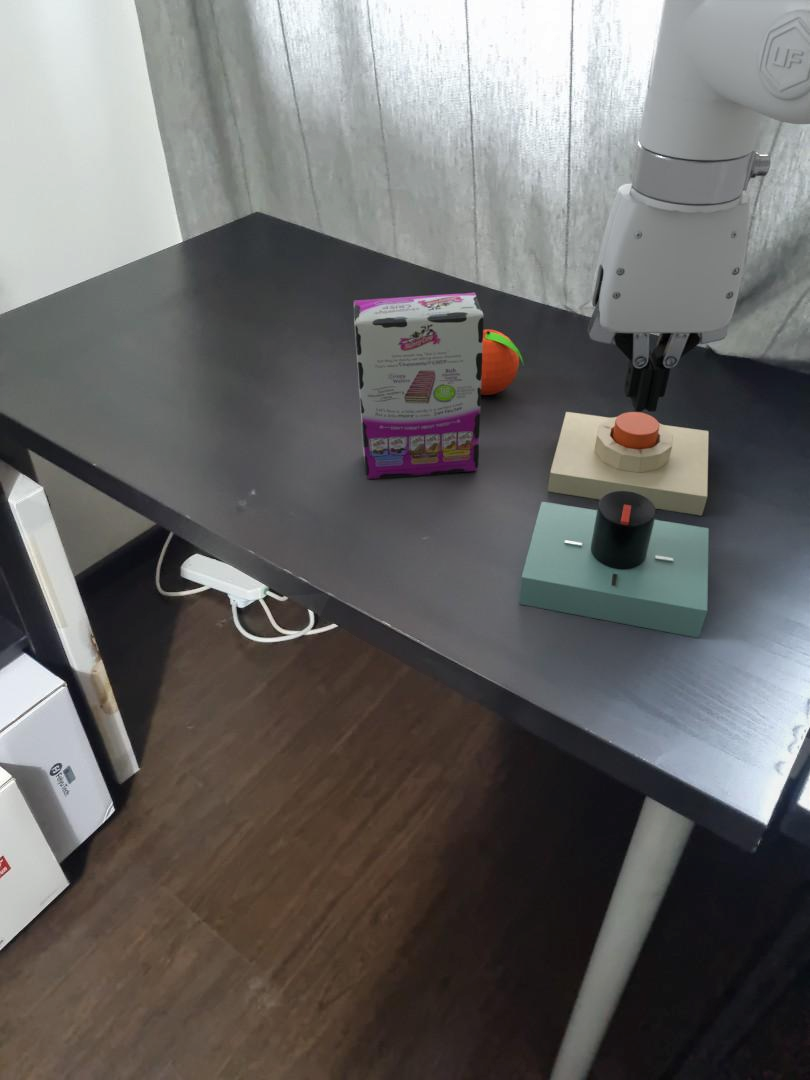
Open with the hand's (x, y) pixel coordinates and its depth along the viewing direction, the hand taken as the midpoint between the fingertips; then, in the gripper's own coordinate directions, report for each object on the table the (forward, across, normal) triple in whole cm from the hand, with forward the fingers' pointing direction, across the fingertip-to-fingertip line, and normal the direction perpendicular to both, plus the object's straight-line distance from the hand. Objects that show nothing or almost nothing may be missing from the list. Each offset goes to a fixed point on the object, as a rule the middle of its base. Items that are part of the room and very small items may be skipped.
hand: (641, 402), depth 69 cm
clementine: (+11, +11, -20) cm, 26 cm away
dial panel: (+11, +2, +10) cm, 15 cm away
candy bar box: (+11, +19, -7) cm, 23 cm away
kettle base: (+11, -2, -6) cm, 12 cm away
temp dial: (+8, +3, +10) cm, 13 cm away
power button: (+7, -2, -6) cm, 9 cm away
